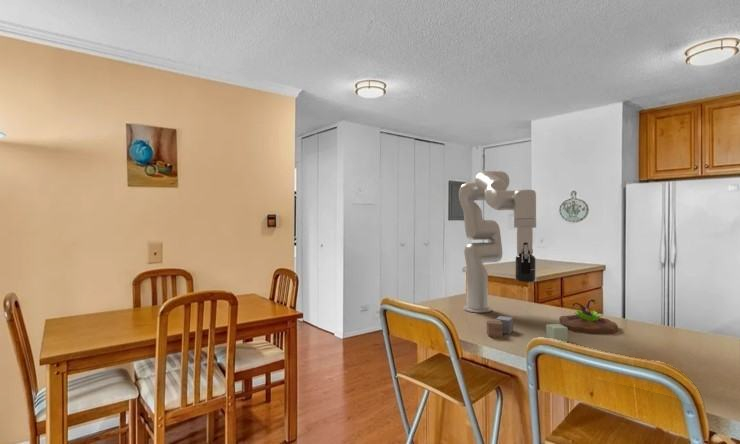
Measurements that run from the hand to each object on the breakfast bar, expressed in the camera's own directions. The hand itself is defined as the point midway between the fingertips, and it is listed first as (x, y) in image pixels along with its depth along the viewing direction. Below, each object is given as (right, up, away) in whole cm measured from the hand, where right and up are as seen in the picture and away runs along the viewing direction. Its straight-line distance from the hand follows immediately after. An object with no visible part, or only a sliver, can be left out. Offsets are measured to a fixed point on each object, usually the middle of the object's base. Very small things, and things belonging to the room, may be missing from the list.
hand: (525, 271), depth 143 cm
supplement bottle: (0, -4, 0) cm, 4 cm away
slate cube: (-5, -24, +6) cm, 25 cm away
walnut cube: (-11, -24, +2) cm, 26 cm away
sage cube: (+9, -24, -5) cm, 26 cm away
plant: (+29, -24, +10) cm, 39 cm away
